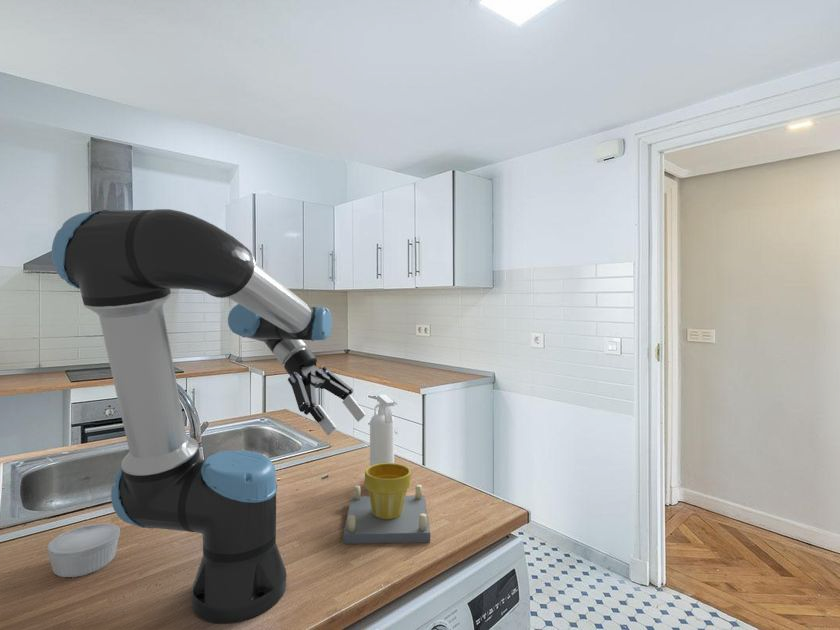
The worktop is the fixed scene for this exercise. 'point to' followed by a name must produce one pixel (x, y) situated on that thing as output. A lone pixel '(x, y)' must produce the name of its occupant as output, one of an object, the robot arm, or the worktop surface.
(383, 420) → the white spray bottle
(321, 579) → the worktop surface
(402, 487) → the plant pot
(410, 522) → the peg board
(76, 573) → the ramekin
